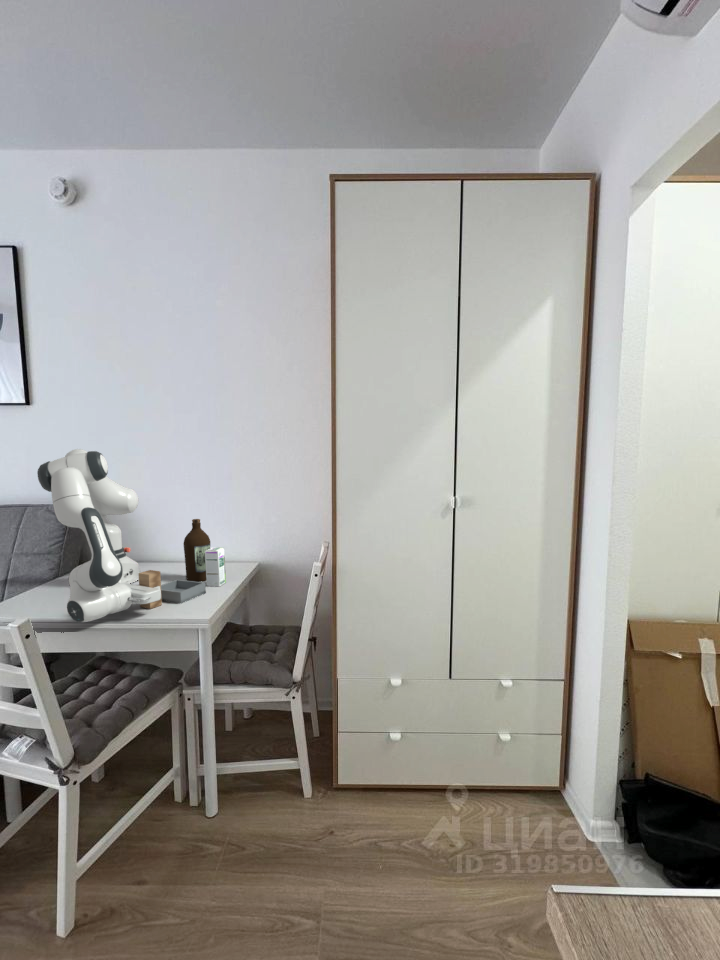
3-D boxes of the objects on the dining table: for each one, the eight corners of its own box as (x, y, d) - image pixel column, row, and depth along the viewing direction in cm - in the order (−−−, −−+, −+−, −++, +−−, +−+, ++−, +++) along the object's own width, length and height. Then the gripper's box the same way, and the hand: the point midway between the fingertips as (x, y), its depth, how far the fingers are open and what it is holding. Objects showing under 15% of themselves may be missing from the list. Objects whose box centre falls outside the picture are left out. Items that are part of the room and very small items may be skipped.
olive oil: (179, 579, 228) (177, 519, 226) (202, 574, 236) (200, 516, 234) (194, 584, 221) (191, 522, 219) (216, 578, 229) (214, 518, 227)
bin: (177, 589, 214) (176, 579, 213) (205, 593, 208) (205, 582, 208) (151, 599, 201) (150, 588, 201) (181, 603, 196) (180, 592, 195)
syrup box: (220, 586, 217) (218, 550, 215) (206, 586, 218) (204, 550, 217) (226, 583, 222) (224, 547, 221) (212, 582, 223) (211, 547, 222)
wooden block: (150, 609, 190) (148, 574, 189) (140, 607, 192) (138, 573, 191) (161, 605, 194) (160, 571, 193) (151, 603, 197) (150, 569, 196)
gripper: (140, 592, 176) (173, 581, 188) (97, 584, 186) (131, 575, 198) (141, 611, 177) (174, 599, 189) (98, 603, 186) (132, 592, 198)
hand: (152, 587), depth 193 cm, fingers closed on wooden block, 5 cm apart
